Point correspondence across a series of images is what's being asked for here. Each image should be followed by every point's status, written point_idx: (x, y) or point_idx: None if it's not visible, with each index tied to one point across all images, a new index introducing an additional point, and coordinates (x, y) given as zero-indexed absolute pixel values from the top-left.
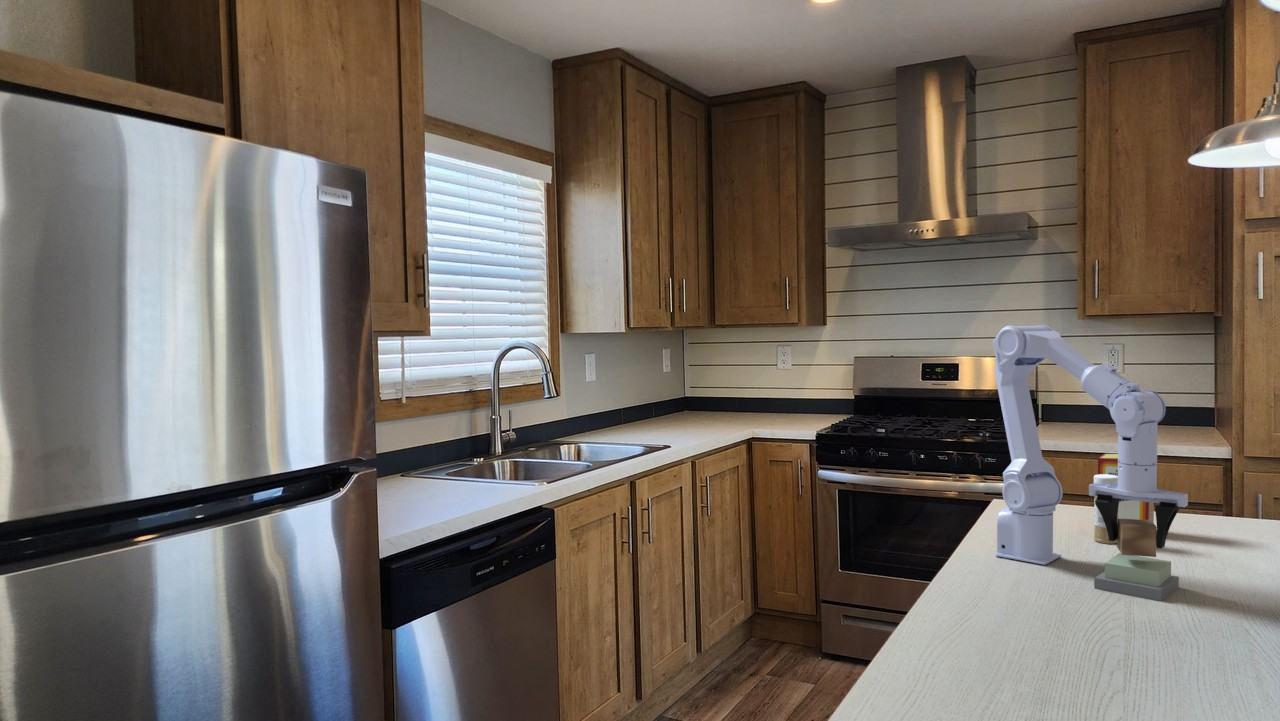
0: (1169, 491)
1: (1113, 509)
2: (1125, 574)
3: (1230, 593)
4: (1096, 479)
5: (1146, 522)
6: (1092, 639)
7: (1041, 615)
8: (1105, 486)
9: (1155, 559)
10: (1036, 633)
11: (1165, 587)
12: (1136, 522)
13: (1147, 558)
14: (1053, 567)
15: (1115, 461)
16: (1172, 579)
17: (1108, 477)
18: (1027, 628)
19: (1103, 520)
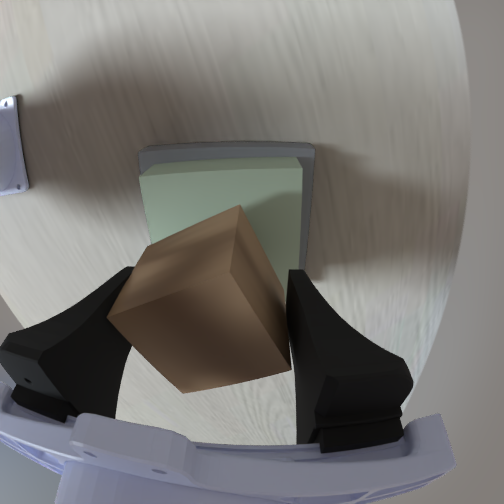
0: (368, 492)
1: (100, 381)
2: None
3: (414, 126)
4: None
5: (231, 327)
6: (263, 425)
7: (189, 404)
8: (48, 466)
9: (254, 176)
10: (216, 431)
11: (304, 263)
12: (198, 347)
13: (229, 180)
14: (42, 184)
15: None
16: (307, 191)
17: None
18: (203, 427)
19: None
